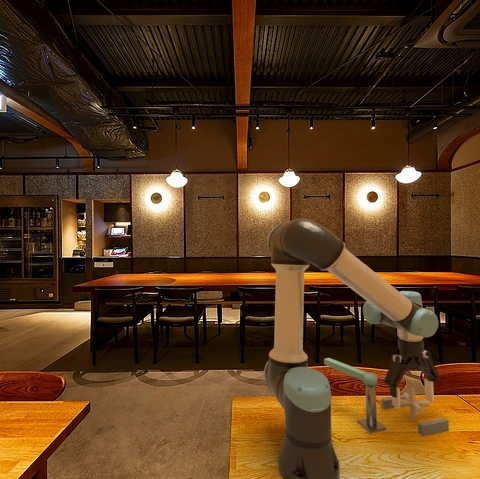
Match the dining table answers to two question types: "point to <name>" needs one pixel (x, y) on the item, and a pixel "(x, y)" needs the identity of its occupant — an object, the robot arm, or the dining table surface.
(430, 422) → the rails
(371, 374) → the grey-green bar
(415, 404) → the pipe connector
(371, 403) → the pivot post
